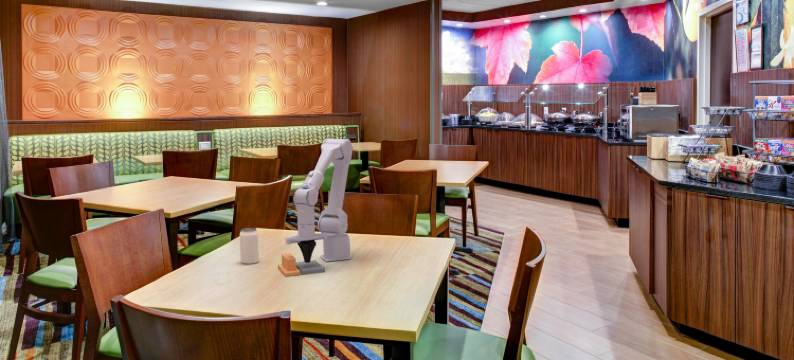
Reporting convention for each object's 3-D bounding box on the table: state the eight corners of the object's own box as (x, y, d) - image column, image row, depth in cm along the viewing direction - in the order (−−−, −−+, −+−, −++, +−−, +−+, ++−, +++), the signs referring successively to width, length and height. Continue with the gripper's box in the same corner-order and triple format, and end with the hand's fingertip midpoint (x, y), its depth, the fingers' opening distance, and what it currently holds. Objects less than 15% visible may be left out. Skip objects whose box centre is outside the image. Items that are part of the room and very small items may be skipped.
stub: (292, 265, 216) (291, 251, 215) (300, 274, 205) (300, 259, 204) (277, 267, 214) (277, 253, 213) (285, 276, 203) (285, 261, 202)
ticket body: (315, 263, 219) (315, 259, 219) (324, 271, 208) (324, 268, 208) (293, 265, 216) (293, 262, 216) (301, 274, 205) (301, 270, 205)
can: (254, 264, 218) (253, 231, 216) (237, 263, 219) (236, 231, 218) (262, 260, 224) (260, 227, 223) (245, 259, 225) (244, 227, 224)
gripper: (320, 219, 217) (321, 256, 218) (281, 223, 209) (283, 262, 211) (329, 222, 211) (330, 260, 213) (289, 227, 203) (290, 267, 205)
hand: (307, 262), depth 211 cm, fingers closed
